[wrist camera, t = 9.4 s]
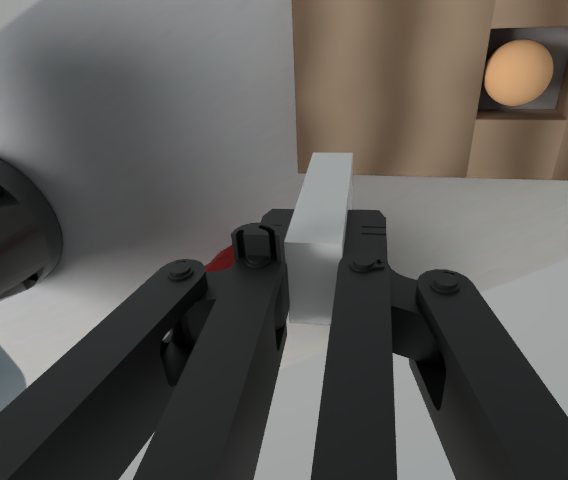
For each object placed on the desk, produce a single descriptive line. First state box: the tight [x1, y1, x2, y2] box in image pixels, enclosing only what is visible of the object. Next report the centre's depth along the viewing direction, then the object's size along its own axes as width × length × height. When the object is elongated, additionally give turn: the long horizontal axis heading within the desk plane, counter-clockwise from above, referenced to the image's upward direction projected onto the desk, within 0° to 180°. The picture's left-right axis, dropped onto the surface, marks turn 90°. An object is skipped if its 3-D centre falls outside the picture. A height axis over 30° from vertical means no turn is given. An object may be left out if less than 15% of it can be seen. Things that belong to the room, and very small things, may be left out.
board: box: [292, 0, 568, 180], centre depth 31 cm, size 20×14×2 cm
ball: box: [483, 39, 553, 106], centre depth 30 cm, size 4×4×4 cm
